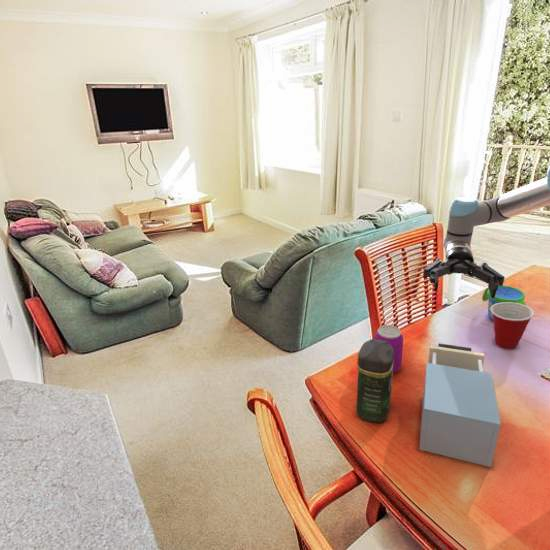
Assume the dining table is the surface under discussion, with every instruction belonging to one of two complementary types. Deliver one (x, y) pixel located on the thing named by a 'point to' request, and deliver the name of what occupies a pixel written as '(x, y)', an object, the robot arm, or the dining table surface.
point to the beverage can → (392, 342)
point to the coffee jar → (374, 380)
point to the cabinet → (459, 414)
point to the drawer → (456, 357)
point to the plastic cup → (510, 323)
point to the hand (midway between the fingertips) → (464, 290)
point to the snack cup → (503, 297)
